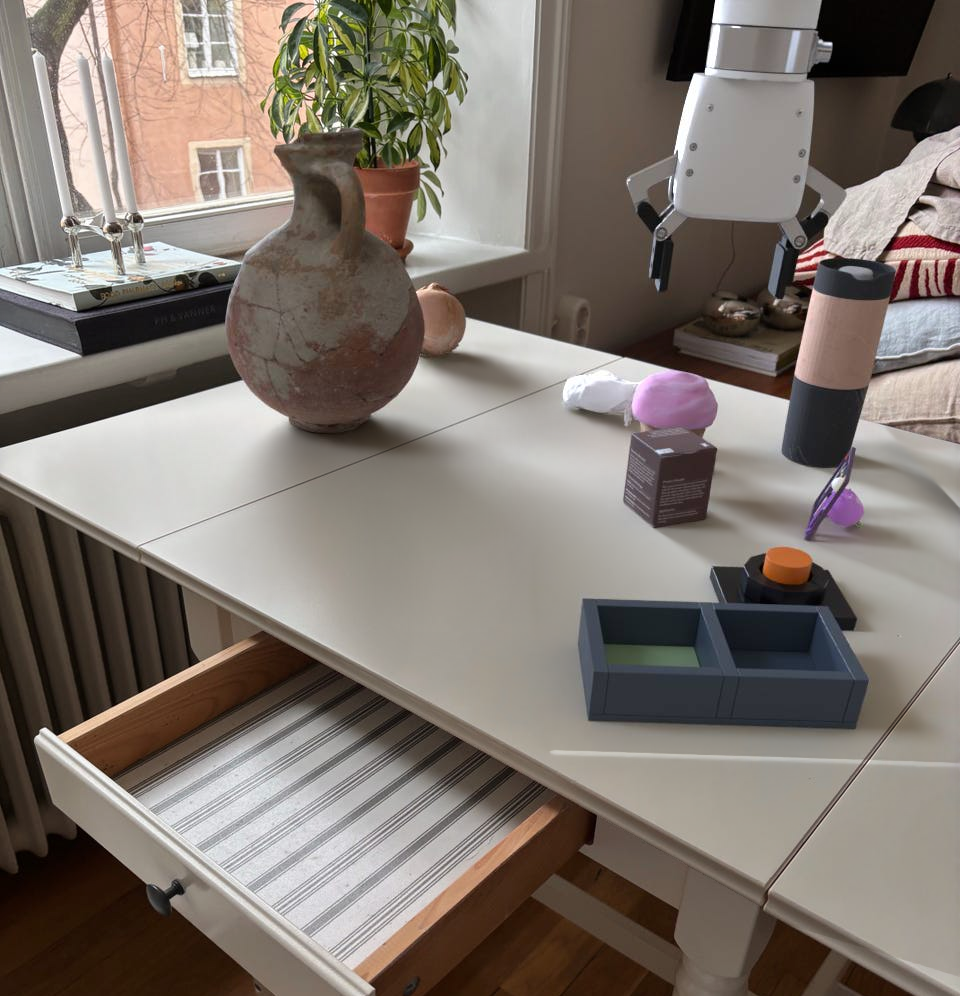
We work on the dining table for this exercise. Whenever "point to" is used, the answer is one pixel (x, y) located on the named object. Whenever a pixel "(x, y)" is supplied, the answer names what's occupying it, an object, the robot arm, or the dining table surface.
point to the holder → (718, 664)
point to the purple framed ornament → (837, 499)
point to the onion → (441, 320)
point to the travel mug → (836, 359)
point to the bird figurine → (601, 393)
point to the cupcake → (674, 402)
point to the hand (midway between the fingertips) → (717, 291)
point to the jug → (324, 299)
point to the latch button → (787, 565)
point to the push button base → (781, 589)
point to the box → (669, 476)
